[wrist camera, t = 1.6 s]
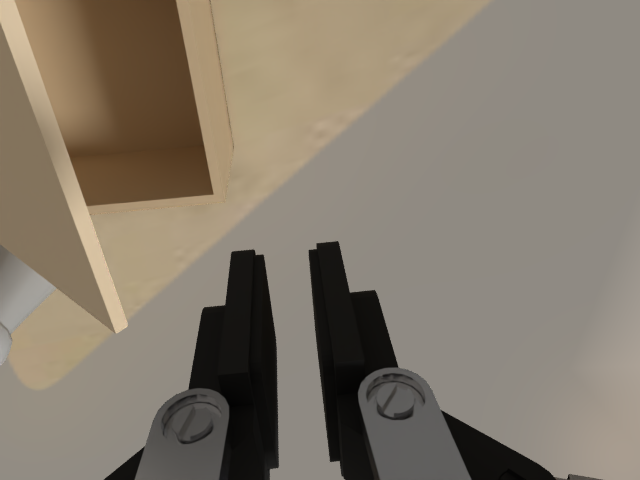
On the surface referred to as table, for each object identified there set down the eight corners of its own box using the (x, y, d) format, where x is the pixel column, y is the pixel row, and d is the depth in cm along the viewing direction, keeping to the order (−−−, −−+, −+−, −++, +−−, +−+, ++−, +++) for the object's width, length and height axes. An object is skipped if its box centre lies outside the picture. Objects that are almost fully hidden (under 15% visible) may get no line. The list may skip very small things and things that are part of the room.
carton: (202, -47, 32) (181, -38, 24) (233, 147, 39) (225, 202, 31) (-25, -30, 31) (-120, -15, 24) (48, 164, 38) (-7, 223, 31)
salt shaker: (4, 267, 43) (-88, 387, 32) (0, 209, 40) (-103, 318, 29) (78, 278, 44) (14, 397, 33) (78, 222, 41) (9, 331, 30)
